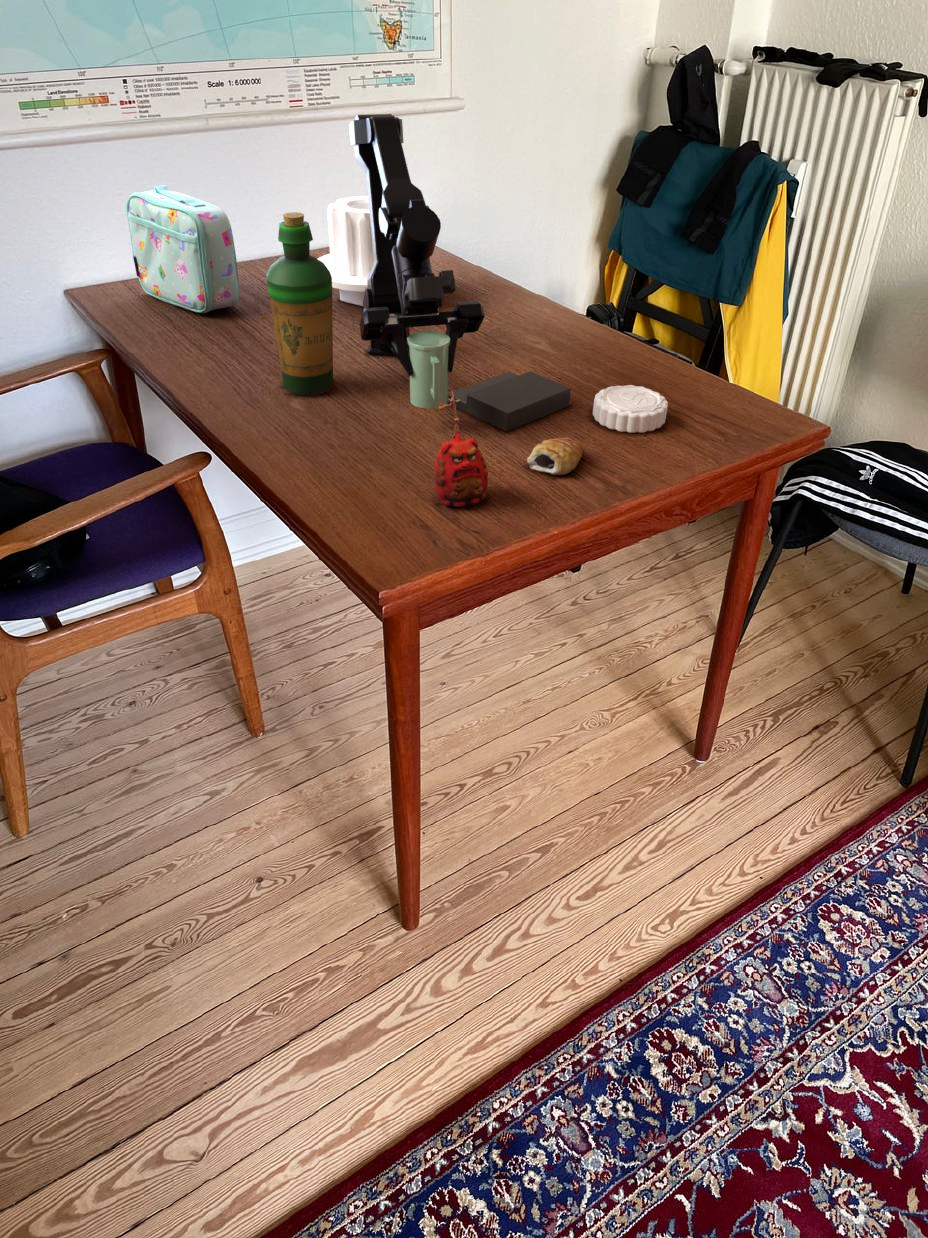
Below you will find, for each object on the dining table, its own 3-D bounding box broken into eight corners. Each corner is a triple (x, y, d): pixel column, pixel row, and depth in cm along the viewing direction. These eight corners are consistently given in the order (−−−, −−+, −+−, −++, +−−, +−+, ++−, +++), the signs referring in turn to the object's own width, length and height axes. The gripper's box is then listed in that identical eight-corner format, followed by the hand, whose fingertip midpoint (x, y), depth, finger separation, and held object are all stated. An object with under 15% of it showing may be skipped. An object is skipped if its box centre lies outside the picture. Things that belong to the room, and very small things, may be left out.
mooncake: (680, 423, 148) (684, 402, 146) (624, 439, 143) (627, 418, 141) (632, 396, 156) (635, 376, 154) (577, 411, 151) (579, 391, 149)
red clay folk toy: (445, 514, 124) (446, 413, 115) (425, 491, 129) (424, 391, 120) (495, 503, 127) (499, 403, 117) (473, 480, 132) (476, 382, 122)
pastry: (555, 445, 141) (557, 422, 139) (593, 457, 138) (596, 434, 136) (523, 468, 135) (525, 444, 133) (562, 481, 132) (565, 458, 130)
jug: (404, 393, 145) (403, 332, 138) (444, 390, 146) (444, 329, 140) (416, 417, 138) (415, 353, 132) (457, 413, 139) (458, 350, 133)
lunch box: (130, 292, 194) (108, 183, 180) (171, 281, 200) (152, 175, 187) (207, 323, 180) (189, 208, 167) (248, 310, 186) (234, 198, 173)
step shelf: (446, 402, 153) (446, 384, 151) (508, 379, 161) (509, 362, 159) (506, 431, 144) (507, 413, 142) (569, 406, 153) (571, 388, 151)
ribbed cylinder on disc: (453, 294, 197) (454, 200, 185) (384, 327, 180) (381, 227, 168) (361, 273, 207) (356, 183, 196) (288, 303, 190) (278, 206, 179)
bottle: (289, 404, 151) (270, 226, 134) (269, 380, 158) (249, 210, 141) (349, 393, 155) (338, 219, 138) (326, 370, 162) (314, 203, 145)
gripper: (359, 253, 130) (375, 356, 129) (483, 246, 134) (501, 346, 133) (353, 290, 141) (368, 386, 140) (468, 283, 145) (484, 376, 144)
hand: (430, 373), depth 139 cm, fingers closed on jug, 6 cm apart
